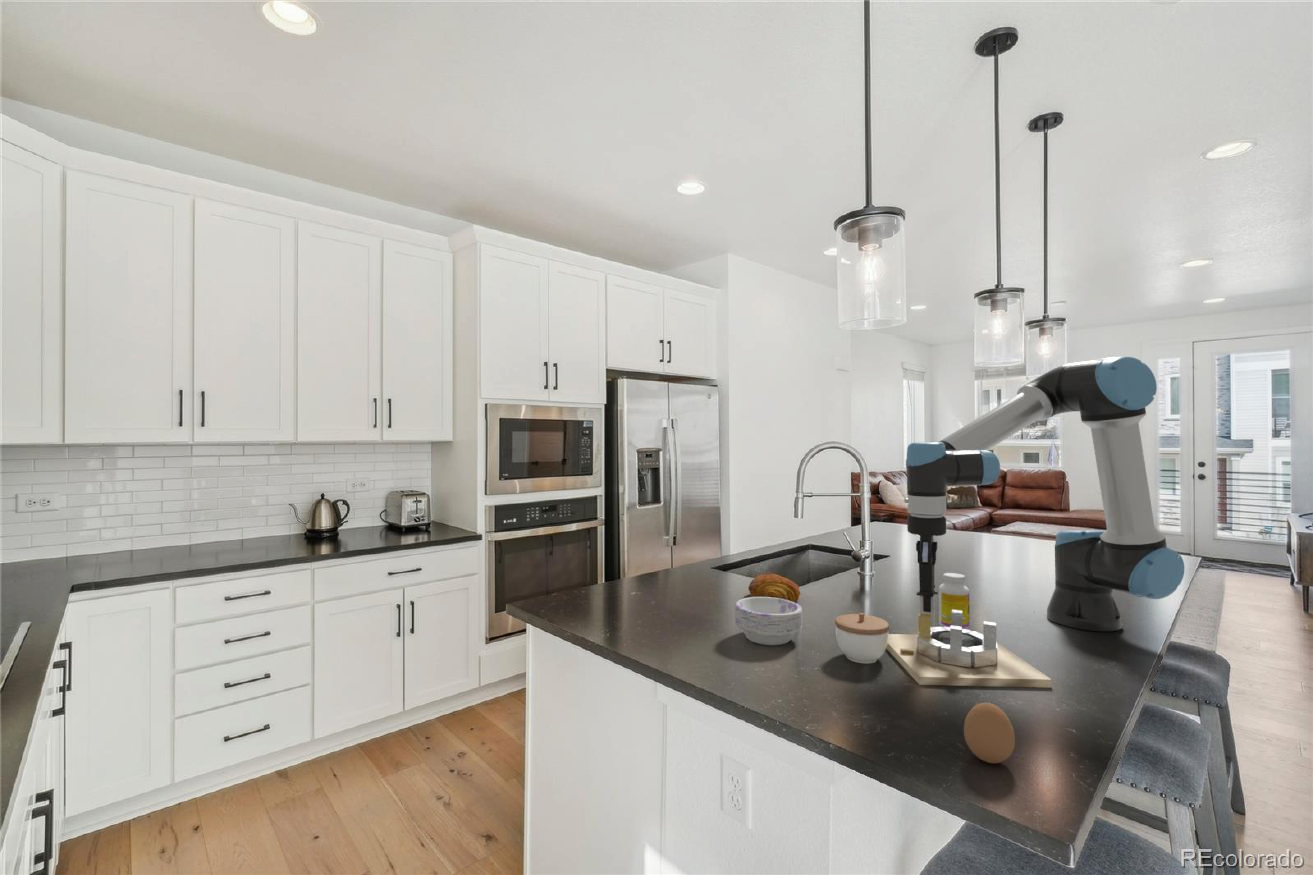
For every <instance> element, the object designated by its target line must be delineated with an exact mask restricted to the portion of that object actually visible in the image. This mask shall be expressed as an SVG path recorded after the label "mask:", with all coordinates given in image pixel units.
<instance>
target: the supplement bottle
mask: <svg viewBox="0 0 1313 875" xmlns="http://www.w3.org/2000/svg"><path fill="white" fill-rule="evenodd" d="M942 576H943V581H944V582H943V583H941V584H940V585H939V587H938V625H939V627H940V626H941V627H943V628H944V627H950V626H951V625H952V610H960V611H962V629H966V630H970V589H969V587H967V585H965V581H966V576H965V575H964V574H961V573H956V572H955V573H954V572H946V573H945V572H944V573H943V575H942Z"/></svg>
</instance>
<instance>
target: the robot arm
mask: <svg viewBox="0 0 1313 875" xmlns="http://www.w3.org/2000/svg"><path fill="white" fill-rule="evenodd" d="M1157 386H1158V385H1157V380H1156V377H1155V375H1154V373H1153V371H1152V369H1151V368H1150V367H1149V366H1148V365H1147V364H1146V363H1144V362H1143V361H1142V360H1140V359H1138V358H1137V357H1132V356H1108V357H1103V358H1097V359H1091V360H1085V361H1077V362H1069V363H1065V364H1063V365H1060V366H1057V367H1055V368H1053V369H1050V370H1049V371H1047V372H1045V373H1043V374H1042V375H1040V376H1038V377H1036V378H1034V379H1033V380H1031V381H1030V382H1028V383H1026V384H1024V385H1022V386H1020V387H1019V389H1018V390H1017V393H1016V394H1015V395H1014V396H1013V397H1011V398H1009V399H1008V400H1006V401H1004V402H1003V403H1001V404H999V405H997V406H996V407H994V408H993V409H991V410H989V411H988V412H986V413H984V414H983V415H981V416H979V417H978V418H976V419H974V420H973V421H971V422H970V423H968V424H966V425H964V426H962V427H961V428H959V429H958V430H956V431H955V432H953V433H951V434H949V435H948V436H946V437H944V438H943V439H941V440H939V441H936V442H933V441H930V442H928V441H927V442H926V441H925V442H923V441H921V442H920V441H919V442H911V443H909V444H908V446H907V448H906V450H907V451H906V459H905V469H906V486H907V487H906V489H907V490H906V491H907V492H906V493H907V494H906V496H907V498H904V500H903V502H904V503H905V504H907V513H909V514H908V516H906V517H907V519H906V520H907V522H906V523H907V527H906V528H907V530H906V531H907V532H908V533H909V534H912V535H914V536H915V535H918V536H919V540H917V541H916V542H915V551H916V552H917V563H918V574H919V591H916V596H919V603H920V605H919V606H920V607H919V611H920V614H926V615H931V627H936V626H935V625H936V624H935V623H936V618H935V617H936V614H935V613H936V612H935V608H936V606H935V595H939V590H936V585H935V565H936V563H937V562H936V561H937V550H938V542H937V541H934V537H939V536H944V535H946V534H947V518H946V517H945V516H944V515H946V514H947V487H952V486H953V487H954V486H955V487H958V486H959V487H960V486H961V487H963V486H964V487H965V486H978V487H981V486H985V485H992V484H993V483H995V482H997V480H998V478H999V476H1000V473H1001V462H1000V460H999V458H998V456H997V455H996V454H995V453H994V452H993V451H991V450H990V449H991V448H993V447H995V446H996V445H999V444H1000V443H1002V442H1003V441H1005V440H1007V439H1008V438H1010V437H1011V436H1013V435H1015V434H1016V433H1018V432H1020V431H1021V430H1023V429H1025V428H1026V427H1028V426H1030V425H1032V424H1033V423H1034V422H1037V421H1039V422H1042V421H1047V420H1048V419H1050V418H1051V417H1054V416H1056V415H1059V414H1060V415H1061V414H1064V413H1073V412H1079V414H1080V420H1081V423H1083V424H1085V425H1086V426H1088V428H1090V432H1091V437H1092V444H1093V449H1094V450H1093V451H1094V456H1095V461H1096V462H1095V463H1096V468H1097V476H1098V481H1099V486H1100V487H1099V488H1100V494H1101V500H1102V505H1103V506H1102V507H1103V512H1104V513H1103V515H1104V519H1105V520H1104V521H1105V525H1106V529H1066V530H1064V529H1063V530H1060V531H1058V532H1057V533H1056V535H1055V542H1054V543H1055V544H1054V572H1055V573H1054V576H1055V577H1054V578H1055V579H1054V581H1055V583H1054V585H1055V586H1054V590H1053V592H1052V596H1051V598H1050V600H1049V602H1048V605H1047V608H1046V617H1047V619H1048V620H1050V622H1053V623H1056V624H1058V625H1061V626H1064V627H1068V628H1073V629H1079V630H1084V631H1091V632H1092V631H1093V632H1116V631H1120V630H1122V616H1121V614H1120V612H1119V609H1118V606H1117V604H1116V601H1115V598H1114V596H1113V590H1115V591H1119V592H1121V593H1125V594H1128V595H1132V596H1135V597H1138V598H1146V599H1150V600H1160V599H1161V600H1162V599H1164V598H1168V597H1169V596H1171V595H1173V593H1175V592H1176V590H1177V589H1178V588H1179V586H1180V585H1181V583H1182V582H1183V580H1184V576H1185V562H1184V559H1183V557H1182V555H1181V554H1179V553H1178V552H1177V551H1176V550H1174V549H1172V548H1169V547H1167V546H1168V545H1167V542H1166V541H1167V540H1166V535H1165V534H1164V533H1163V532H1161V531H1160V530H1158V529H1157V528H1156V527H1155V520H1154V515H1153V514H1154V512H1153V509H1152V508H1153V507H1152V502H1151V501H1152V500H1151V494H1150V487H1149V483H1148V477H1147V469H1146V462H1145V461H1146V460H1145V455H1144V449H1143V443H1142V437H1141V430H1140V425H1139V423H1140V421H1141V420H1143V418H1145V417H1146V416H1147V411H1146V410H1147V409H1146V408H1147V407H1148V406H1149V405H1150V404H1151V403H1153V401H1154V399H1155V397H1154V396H1156V394H1157V388H1158V387H1157Z"/></svg>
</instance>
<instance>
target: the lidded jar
mask: <svg viewBox="0 0 1313 875" xmlns="http://www.w3.org/2000/svg"><path fill="white" fill-rule="evenodd" d="M834 625H835V637H836V642H837V645H838V647H839V649H840V651H841V652H842V653H843V654H844V655H845V656H846V658H847V659H848V660H849V661H851V662H855V663H858V664H866V665H867V664H874V663H876V662H877V661H878V659H879V658H881V657H882V656H883V655H884V653H885V652H886V650H887V649H886V647H887V643H888V634H889V630H890V624H889V622H888V621H887V620H884V619H883V618H880V617H878V616H873V615H870V614H865V613H863V612H859V613H848V614H841V615H839V616H836V617H835V619H834Z"/></svg>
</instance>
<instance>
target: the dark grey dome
mask: <svg viewBox="0 0 1313 875" xmlns="http://www.w3.org/2000/svg"><path fill="white" fill-rule="evenodd" d="M939 642H942V643H944V644H948V645H950V632H946V633H941V634H940V635H939ZM973 646H974V639H973V638H972V637H970V636H968V635H965V634H962V647H973Z"/></svg>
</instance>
